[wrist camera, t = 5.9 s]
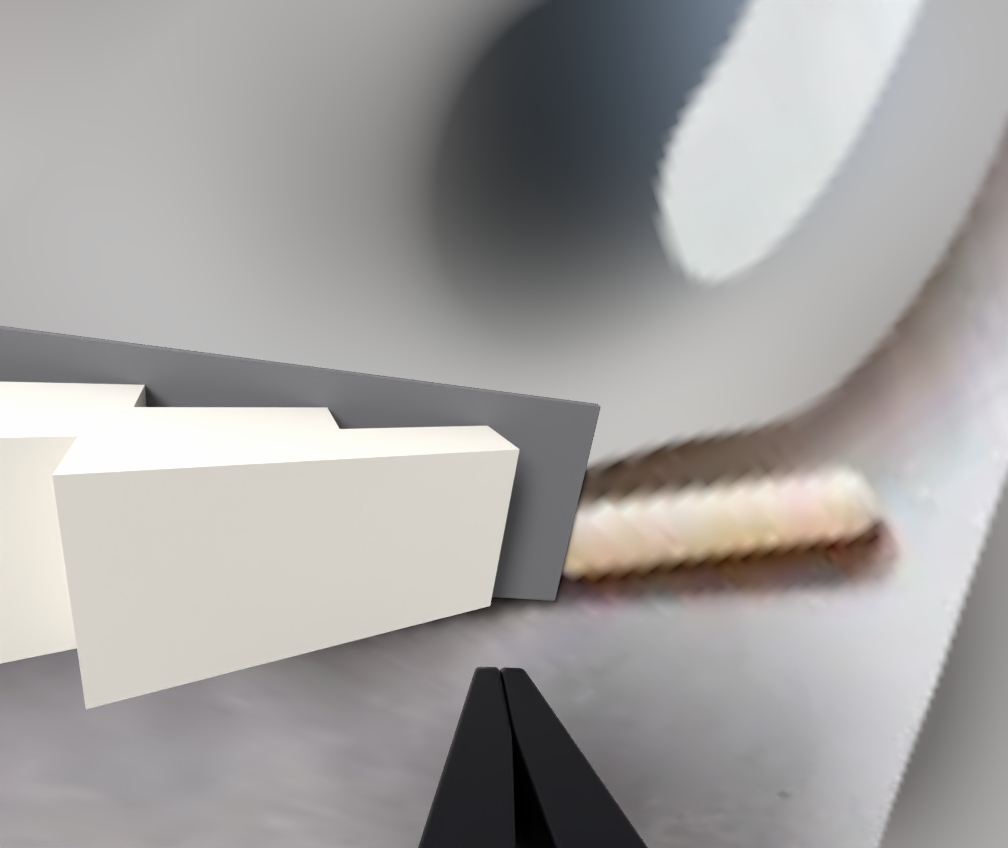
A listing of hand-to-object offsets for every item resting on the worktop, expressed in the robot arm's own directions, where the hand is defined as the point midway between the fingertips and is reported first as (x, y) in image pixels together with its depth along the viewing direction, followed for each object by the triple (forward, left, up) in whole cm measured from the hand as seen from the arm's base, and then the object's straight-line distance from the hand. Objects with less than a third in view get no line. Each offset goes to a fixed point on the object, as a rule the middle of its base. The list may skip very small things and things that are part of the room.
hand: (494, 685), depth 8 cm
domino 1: (0, 0, -6) cm, 6 cm away
